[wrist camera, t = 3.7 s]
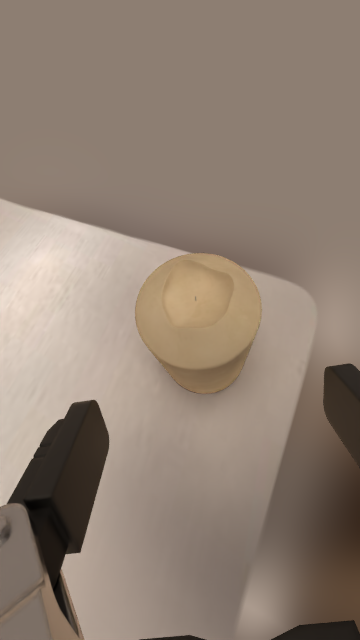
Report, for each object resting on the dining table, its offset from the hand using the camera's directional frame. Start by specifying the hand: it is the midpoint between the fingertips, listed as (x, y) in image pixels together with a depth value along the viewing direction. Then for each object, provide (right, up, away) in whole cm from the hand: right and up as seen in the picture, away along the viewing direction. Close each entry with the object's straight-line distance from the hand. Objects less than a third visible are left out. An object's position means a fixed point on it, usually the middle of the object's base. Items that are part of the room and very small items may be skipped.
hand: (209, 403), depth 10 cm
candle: (+1, 0, +10) cm, 10 cm away
